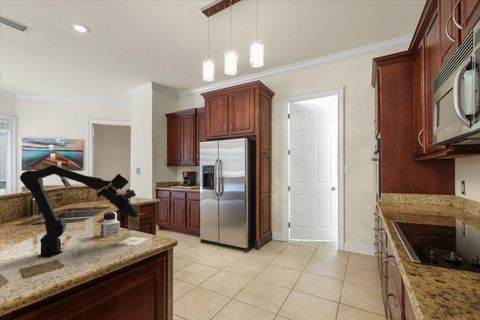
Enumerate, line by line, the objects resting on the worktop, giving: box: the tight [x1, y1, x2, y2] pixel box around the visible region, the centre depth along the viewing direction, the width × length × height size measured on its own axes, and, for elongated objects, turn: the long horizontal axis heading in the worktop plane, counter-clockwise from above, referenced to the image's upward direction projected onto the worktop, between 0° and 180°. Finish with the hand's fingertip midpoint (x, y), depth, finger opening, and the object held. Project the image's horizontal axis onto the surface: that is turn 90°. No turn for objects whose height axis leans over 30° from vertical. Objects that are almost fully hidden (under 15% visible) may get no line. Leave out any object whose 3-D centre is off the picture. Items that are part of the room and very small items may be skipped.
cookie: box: [19, 258, 66, 280], centre depth 87 cm, size 12×12×1 cm
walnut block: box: [127, 202, 141, 232], centre depth 118 cm, size 5×5×13 cm
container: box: [99, 211, 121, 238], centre depth 129 cm, size 8×8×13 cm
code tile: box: [117, 236, 149, 246], centre depth 117 cm, size 11×11×1 cm
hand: (136, 215), depth 118 cm, fingers closed on walnut block, 5 cm apart
